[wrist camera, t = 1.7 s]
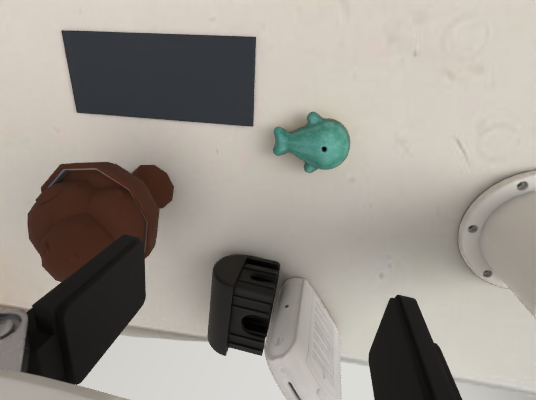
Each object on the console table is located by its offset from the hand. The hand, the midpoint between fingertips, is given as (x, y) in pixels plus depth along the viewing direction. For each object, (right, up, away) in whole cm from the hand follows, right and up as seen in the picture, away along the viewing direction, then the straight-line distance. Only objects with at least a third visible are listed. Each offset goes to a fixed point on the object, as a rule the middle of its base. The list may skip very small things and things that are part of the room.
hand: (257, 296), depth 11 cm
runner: (-11, +16, +19) cm, 27 cm away
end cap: (-2, -7, +27) cm, 28 cm away
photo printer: (+6, -10, +27) cm, 29 cm away
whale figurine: (+5, +10, +19) cm, 22 cm away
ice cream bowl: (-13, +5, +24) cm, 28 cm away
